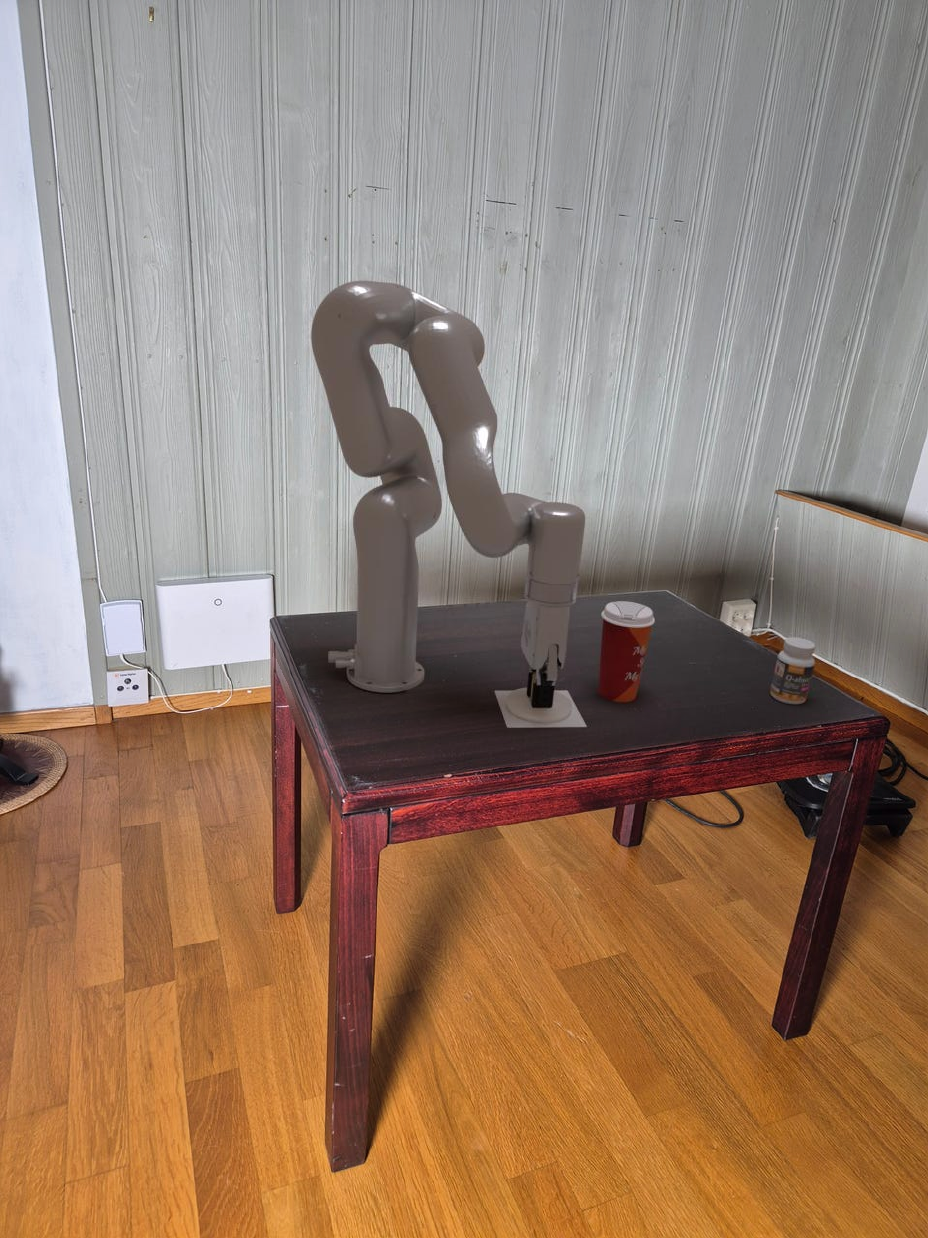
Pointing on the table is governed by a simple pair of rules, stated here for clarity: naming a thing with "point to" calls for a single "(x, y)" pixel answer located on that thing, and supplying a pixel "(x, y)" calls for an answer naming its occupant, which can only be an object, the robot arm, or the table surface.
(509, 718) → the mat
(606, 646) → the coffee cup
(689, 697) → the table surface
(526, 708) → the lid
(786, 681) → the pill bottle
